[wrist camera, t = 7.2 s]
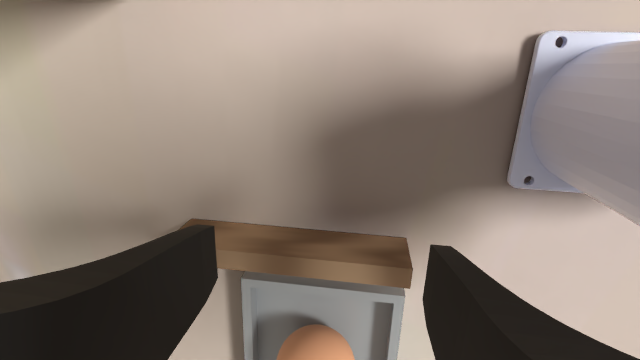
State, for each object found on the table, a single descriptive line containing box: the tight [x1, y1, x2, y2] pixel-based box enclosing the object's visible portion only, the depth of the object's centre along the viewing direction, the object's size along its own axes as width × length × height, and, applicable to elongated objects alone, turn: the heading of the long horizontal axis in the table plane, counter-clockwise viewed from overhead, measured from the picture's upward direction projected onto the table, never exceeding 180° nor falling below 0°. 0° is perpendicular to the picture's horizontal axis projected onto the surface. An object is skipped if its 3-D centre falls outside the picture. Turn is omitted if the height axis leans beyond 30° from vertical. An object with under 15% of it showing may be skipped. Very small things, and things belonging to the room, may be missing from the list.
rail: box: [179, 219, 413, 289], centre depth 21 cm, size 14×1×4 cm, turn 88°
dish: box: [241, 271, 405, 360], centre depth 24 cm, size 10×10×2 cm
